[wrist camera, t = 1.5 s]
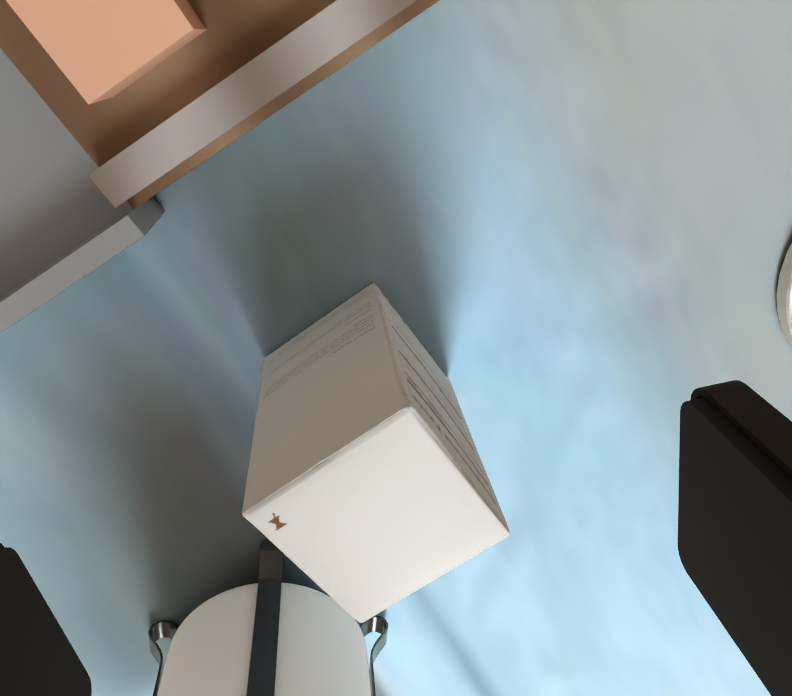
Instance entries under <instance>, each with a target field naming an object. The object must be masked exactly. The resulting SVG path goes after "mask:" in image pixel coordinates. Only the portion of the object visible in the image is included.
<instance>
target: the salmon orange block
mask: <svg viewBox="0 0 792 696" xmlns="http://www.w3.org/2000/svg"><path fill="white" fill-rule="evenodd" d="M6 1H7V3H8V4H9V5H10V6H11V8H12V9H13V10H14V11H15V13H16V14H17V15H18V17H19V18H20V19H21V20H22V22H23V23H24V24H25V25H26V27H27V28H28V29H29V30H30V32H31V33H32V34H33V35H34V37H35V38H36V39H37V40H38V42H39V43H40V44H41V45H42V47H43V48H44V49H45V50H46V52H47V53H48V54H49V55H50V57H51V58H52V59H53V60H54V62H55V63H56V64H57V66H58V67H59V68H60V69H61V71H62V72H63V73H64V74H65V76H66V77H67V78H68V79H69V81H70V82H71V83H72V84H73V86H74V87H75V88H76V89H77V91H78V92H79V93H80V94H81V96H82V97H83V98H84V99H85V101H86V102H87V103H88V104H92V103H95V102H99V101H102V100H105V99H108V98H112V97H114V96H115V95H117V94H118V93H119V92H121V91H122V90H123V89H125V88H126V87H128V86H129V85H130V84H132V83H133V82H135V81H136V80H137V79H139V78H140V77H142V76H143V75H144V74H146V73H147V72H148V71H150V70H151V69H153V68H154V67H155V66H157V65H158V64H160V63H161V62H162V61H164V60H165V59H167V58H168V57H169V56H171V55H172V54H173V53H175V52H176V51H178V50H179V49H180V48H182V47H183V46H185V45H186V44H187V43H189V42H190V41H192V40H193V39H194V38H196V37H197V36H199V35H200V34H201V33H203V32H204V31H205V30H207V29H206V28H205V26H204V25H203V23H202V22H201V20H200V19H199V17H198V16H197V14H196V13H195V11H194V10H193V8H192V7H191V5H190V4H189V2H188V1H187V0H6Z"/></svg>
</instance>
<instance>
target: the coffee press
mask: <svg viewBox="0 0 792 696" xmlns="http://www.w3.org/2000/svg"><path fill="white" fill-rule="evenodd" d="M283 554H284V553H283V552H282V551H281V550H280V549H279V548H277V547H276V546H275V545H274V544H273V543H272V542H271V541H261V548H260V563H259V579H258V583H255V584H249V585H244V586H240V587H236V588H233V589H230V590H227V591H225V592H222V593H220V594H218V595H216V596H214V597H212V598H210V599H209V600H207V601H206V602H204V603H203V604H201V605H200V606H199V607H197V608H196V609H195V610H194V611H193V612H192V613H190V614H189V615H188V617H187V618H186V619H185V620H184V621H183V622H182V624H181V625H180V626H179V628H177V627H176V626H175V625H174V624H173V623H172V622H170V621H159V622H157V623H155V624H153V625H152V626H151V627H150V629H149V633H148V634H149V644H150V651H151V653H152V654H153V656H154V657H155V659H156V660H157V662H158V663H159V665H160V666H159V671H158V676H157V680H156V684H155V688H154V693H153V696H376V694H375V683H374V671H373V662H374V660H375V658H376V657H377V655H378V654H379V653H380V651H381V650H382V648H383V647H384V646H385V644H386V640H387V631H388V623H387V621H386V620H385V619H384V618H383V617H380V616H374V617H372V618H370V619H369V620H367V621H365V622H363V623H361V624H360V625H358V623H357V622H356V620H355V619H354V618H353V617H352V616H351V615H350V614H349V613H347V612H346V611H345V610H344V609H343V608H342V607H341V606H340V605H339V604H338V603H337V602H336V601H335V600H334V599H332V598H331V597H329V596H328V595H326V594H324V593H322V592H319V591H317V590H314V589H311V588H308V587H305V586H301V585H296V584H290V583H282V581H283ZM370 632H379V633H381V635H380V637H379V638H378V640H377V641H376V642H375V644H374V646H373V648H372V650H371V657H370V667H368V657H367V649H366V643H365V639H364V636H366V635H367V634H368V633H370ZM162 637H169V638H171V639H172V641H171V644H170V647H169V651H168V654H167V658H166V662H165V666H163V655H162V652H161V649H160V648H159V646H158V644H157V643H156V642H155V641H156V640H158V639H159V638H162Z"/></svg>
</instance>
